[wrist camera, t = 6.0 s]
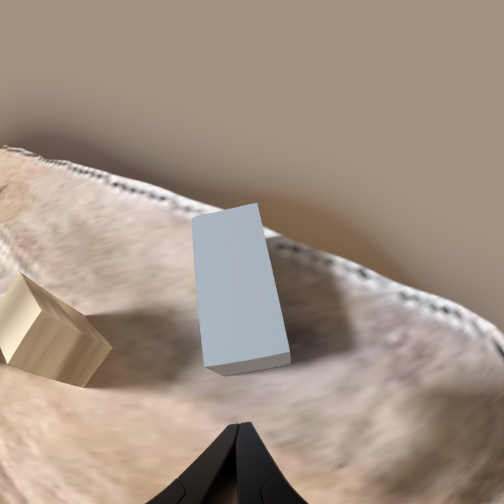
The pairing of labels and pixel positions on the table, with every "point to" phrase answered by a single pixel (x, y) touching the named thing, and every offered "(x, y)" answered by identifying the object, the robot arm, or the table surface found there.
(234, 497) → the robot arm
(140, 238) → the table surface
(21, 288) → the birch post
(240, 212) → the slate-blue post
